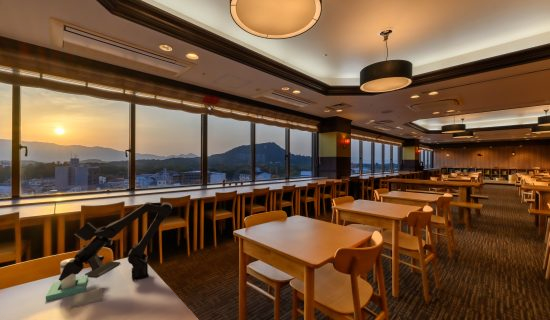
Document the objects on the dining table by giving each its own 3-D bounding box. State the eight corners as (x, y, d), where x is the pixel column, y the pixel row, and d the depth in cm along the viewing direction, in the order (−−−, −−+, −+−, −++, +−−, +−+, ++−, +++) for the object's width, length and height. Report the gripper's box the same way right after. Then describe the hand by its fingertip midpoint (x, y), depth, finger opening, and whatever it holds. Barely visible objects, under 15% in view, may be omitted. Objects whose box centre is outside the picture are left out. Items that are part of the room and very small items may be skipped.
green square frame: (87, 279, 114) (87, 274, 114) (84, 291, 104) (84, 287, 104) (53, 286, 107) (53, 282, 107) (45, 301, 97) (45, 296, 97)
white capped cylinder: (76, 284, 109) (76, 257, 109) (74, 290, 105) (74, 261, 105) (62, 288, 106) (61, 260, 106) (59, 293, 102) (59, 264, 102)
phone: (121, 262, 131) (97, 275, 116) (121, 264, 131) (97, 278, 116) (108, 261, 132) (83, 274, 117) (108, 263, 132) (83, 276, 117)
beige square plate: (102, 288, 106) (102, 287, 106) (101, 300, 98) (101, 298, 98) (74, 295, 100) (74, 294, 100) (69, 308, 92) (69, 307, 92)
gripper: (103, 265, 103) (72, 296, 99) (113, 249, 120) (87, 275, 116) (80, 250, 100) (47, 281, 95) (94, 236, 117) (66, 262, 113)
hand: (64, 275), depth 105 cm, fingers open, 9 cm apart
